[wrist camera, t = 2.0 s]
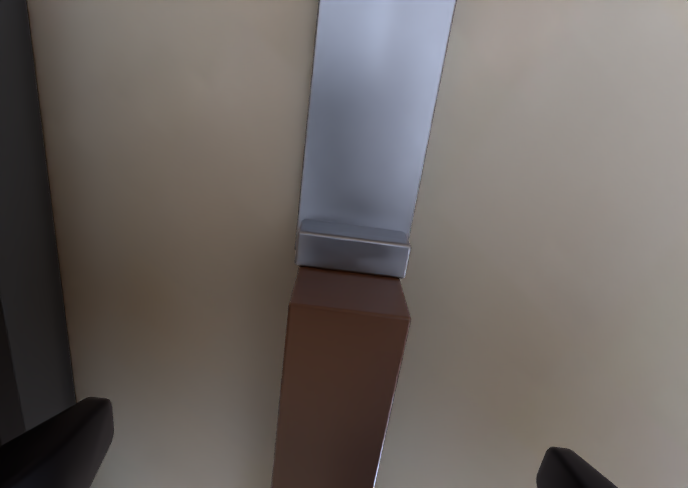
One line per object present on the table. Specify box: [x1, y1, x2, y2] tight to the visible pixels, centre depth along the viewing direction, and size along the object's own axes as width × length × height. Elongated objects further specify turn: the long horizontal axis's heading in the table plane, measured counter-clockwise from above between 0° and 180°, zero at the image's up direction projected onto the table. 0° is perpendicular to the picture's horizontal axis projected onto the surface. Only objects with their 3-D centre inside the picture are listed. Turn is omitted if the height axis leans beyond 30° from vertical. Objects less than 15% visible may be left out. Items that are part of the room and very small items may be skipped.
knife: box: [271, 0, 457, 488], centre depth 8 cm, size 21×3×3 cm, turn 172°
